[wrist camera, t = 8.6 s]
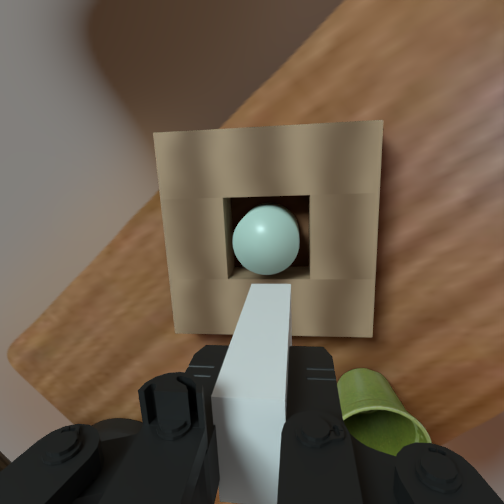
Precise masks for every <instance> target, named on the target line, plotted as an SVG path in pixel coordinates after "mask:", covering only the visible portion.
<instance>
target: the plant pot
mask: <svg viewBox="0 0 504 504" xmlns="http://www.w3.org/2000/svg"><path fill="white" fill-rule="evenodd" d="M337 388H338V393H339V399H340V405H341V411H342V417H343V421H344V424H345V426H346V427H347V429H348V431H349V432H350V434H351V435H353V436H354V437H355V438H356V439H357V440H358V441H360V442H361V443H363V444H364V445H366V446H368V447H370V448H373V449H375V450H378V451H381V452H384V453H387V454H390V455H393V456H396V455H397V453H398V452H399V451H400V450H401V449H402V448H403V447H404V446H406V445H409V444H412V443H415V442H418V443H432V442H431V439H430V436H429V434H428V433H427V431H426V429H425V428H424V426H423V425H422V424H421V423H420V422H419V421H418V420H417V419H416V418H414V417H413V416H412V415H410V414H409V413H408V412H407V411H406V410H405V408H404V406H403V405H402V403H401V402H400V400H399V399H398V397H397V395H396V394H395V392H394V391H393V389H392V387H391V386H390V384H389V383H388V381H387V380H386V378H385V377H384V376H383V375H382V374H380V373H378V372H375V371H372V370H369V369H366V368H358V369H353V370H351V371H348V372H347V373H345V374H344V375H343V376H342V377H341V378H340V379H339V381H338V383H337Z"/></svg>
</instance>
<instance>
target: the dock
mask: <svg viewBox="0 0 504 504" xmlns="http://www.w3.org/2000/svg"><path fill="white" fill-rule="evenodd" d="M153 137H154V145H155V155H156V163H157V173H158V182H159V191H160V200H161V209H162V218H163V227H164V236H165V245H166V254H167V263H168V273H169V282H170V291H171V300H172V309H173V318H174V327H175V333H185V334H234V331H235V329H236V326H237V323H238V320H239V317H240V315H241V312H242V309H243V306H244V303H245V301H246V298H247V295H248V292H249V289H250V287H251V284H291V317H292V336H329V337H372V336H373V316H374V296H375V276H376V256H377V236H378V216H379V197H380V177H381V157H382V137H383V120H373V121H355V122H337V123H320V124H302V125H284V126H266V127H249V128H231V129H213V130H198V131H197V130H196V131H179V132H161V133H153ZM293 195H309V267H288V268H286V269H285V270H283V271H281V272H279V273H276V274H272V275H261V274H257V273H254V272H252V271H250V270H248V269H247V268H245V267H235V263H234V249H233V229H232V212H231V197H261V196H293Z"/></svg>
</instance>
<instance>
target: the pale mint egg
mask: <svg viewBox="0 0 504 504" xmlns="http://www.w3.org/2000/svg"><path fill="white" fill-rule="evenodd" d="M233 249H234V253H235V255H236V257H237V259H238V260H239V262H240V263H241V264H242V265H243V266H244V267H245V268H247V269H248V270H250V271H252V272H254V273H257V274H261V275H272V274H276V273H279V272H281V271H283V270H285V269H286V268H288V267H289V266H290V265H291V264H292V263H293V261H294V260H295V258H296V256H297V253H298V250H299V226H298V222H297V220H296V218H295V216H294V215H293V213H292V212H291V211H290V210H289V209H287V208H286V207H284V206H282V205H280V204H277V203H263V204H259V205H257V206H255V207H253V208H252V209H251V210H250V211H249V212H248V213H247V214H246V215H245V216H244V217H243V219H242V220H241V221H240V222H239V223H238V225H237V227H236V229H235V231H234V234H233Z"/></svg>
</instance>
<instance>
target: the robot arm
mask: <svg viewBox="0 0 504 504" xmlns="http://www.w3.org/2000/svg"><path fill="white" fill-rule="evenodd" d="M138 394H139V400H140V407H141V414H142V421H143V423H141V422H139V421H135V420H131V419H123V418H114V419H107V420H103V421H100V422H98V423H96V424H94V425H92V426H90V425H85V424H75V425H70V426H65V427H62V428H60V429H57V430H55V431H53V432H51V433H49V434H48V435H46V436H45V437H43V438H42V439H40V440H39V441H37V442H36V443H35V444H34V445H32V446H31V447H30V448H29V449H28V450H26V451H25V452H24V453H23V454H21V455H20V456H19V457H18V458H17V459H15V460H14V461H13V462H11V461H10V460H9V459H8V458H7V457H6V456H5V455H3V454H2V453H1V452H0V504H214V502H215V498H216V494H217V489H218V485H219V496H220V502H231V503H243V504H504V502H503V501H502V500H501V499H500V498H499V496H498V495H497V494H496V493H495V492H494V491H493V489H492V488H491V487H490V486H489V485H488V483H487V482H486V481H485V480H484V479H483V478H482V476H481V475H480V474H479V473H478V472H477V470H476V469H475V468H474V467H473V466H472V465H471V464H469V463H468V462H467V461H466V460H465V459H464V458H463V457H462V456H460V455H458V454H456V453H455V452H453V451H451V450H449V449H448V448H446V447H442V446H439V445H436V444H432V443H418V442H415V443H412V444H409V445H406V446H404V447H403V448H402V449H401V450H400V451H399V452H398V453H397V455H396V456H393V455H390V454H387V453H384V452H381V451H378V450H375V449H373V448H370V447H368V446H366V445H364V444H363V443H361V442H360V441H358V440H357V439H356V438H355V437H354V436H353V435H351V434H350V432H349V431H348V429H347V427H346V426H345V424H344V421H343V417H342V411H341V405H340V399H339V393H338V388H337V382H336V376H335V371H334V364H333V359H332V356H331V355H330V354H329V353H328V352H327V350H326V349H325V348H324V347H307V346H292V317H291V284H251V287H250V289H249V292H248V295H247V298H246V301H245V303H244V306H243V309H242V312H241V315H240V317H239V320H238V323H237V326H236V329H235V331H234V334H233V337H232V340H231V342H230V345H229V346H222V345H205V346H204V347H203V348H202V349H200V350H199V351H198V352H197V353H195V354H194V356H193V358H192V360H191V362H190V364H189V367H188V368H187V370H186V372H185V373H183V372H175V373H167V374H163V375H160V376H157V377H155V378H153V379H151V380H149V381H148V382H146V383H145V384H144V385H143V386H142V387H141V388H140V389H139V390H138Z"/></svg>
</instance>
